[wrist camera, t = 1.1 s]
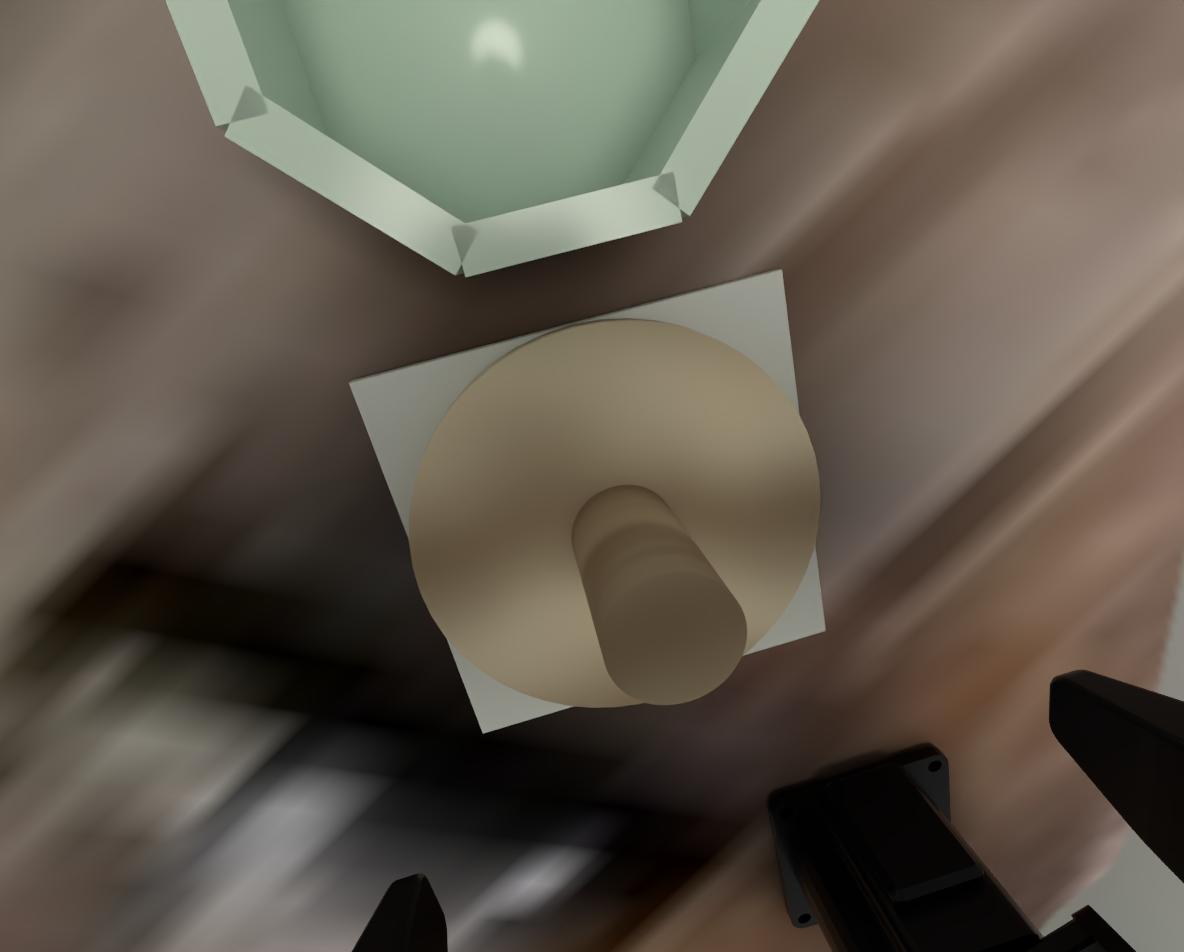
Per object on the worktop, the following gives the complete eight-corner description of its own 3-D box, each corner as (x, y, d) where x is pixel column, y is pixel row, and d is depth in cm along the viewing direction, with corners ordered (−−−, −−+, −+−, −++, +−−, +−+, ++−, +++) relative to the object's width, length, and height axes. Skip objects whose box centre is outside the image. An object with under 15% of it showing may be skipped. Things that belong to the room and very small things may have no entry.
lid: (825, 630, 19) (954, 773, 14) (482, 733, 19) (478, 925, 13) (781, 269, 16) (936, 272, 10) (349, 382, 15) (265, 451, 9)
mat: (819, 623, 20) (825, 630, 19) (483, 724, 19) (482, 733, 19) (775, 269, 16) (782, 269, 16) (352, 380, 15) (348, 382, 15)
